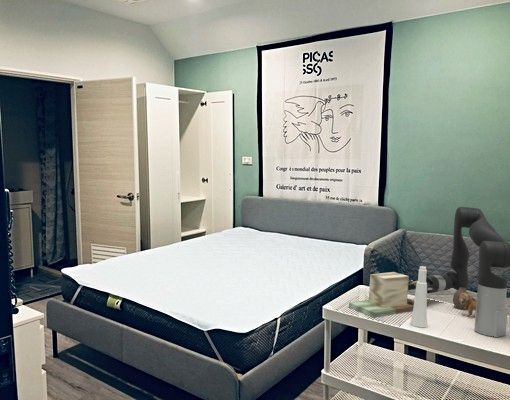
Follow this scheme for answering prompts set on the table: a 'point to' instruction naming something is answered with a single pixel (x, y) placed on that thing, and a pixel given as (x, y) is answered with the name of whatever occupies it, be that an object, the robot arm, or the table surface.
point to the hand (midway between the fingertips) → (406, 287)
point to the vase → (456, 298)
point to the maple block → (388, 289)
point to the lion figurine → (468, 303)
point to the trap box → (378, 311)
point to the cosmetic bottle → (420, 300)
